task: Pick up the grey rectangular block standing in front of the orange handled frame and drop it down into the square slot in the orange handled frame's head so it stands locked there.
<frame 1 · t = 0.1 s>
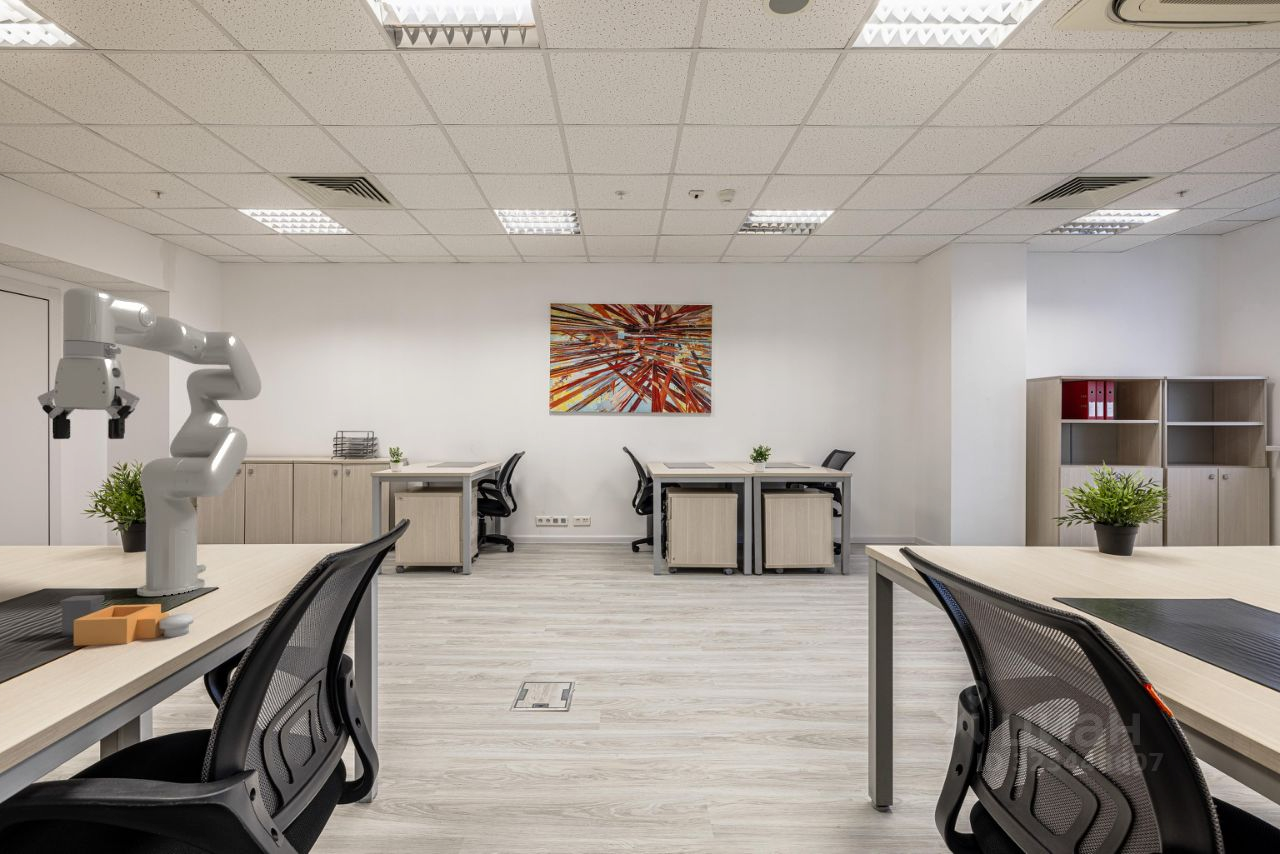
hand: (89, 438, 115), 36 cm above the table, tool pointing down, fingers open, 9 cm apart
orange handled frame: (148, 634, 108), on the table
grey rectangular block: (82, 632, 109), on the table
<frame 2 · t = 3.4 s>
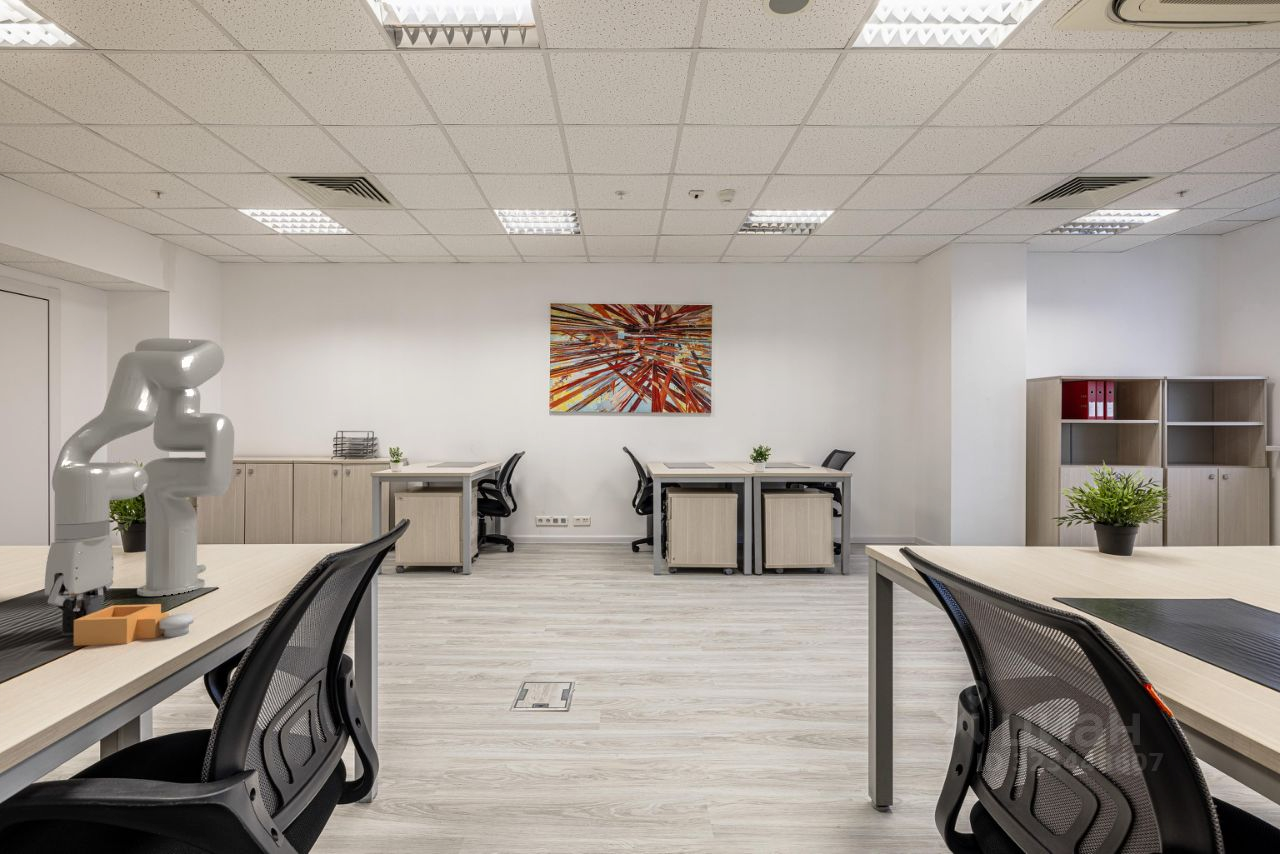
hand: (82, 627, 109), 1 cm above the table, tool pointing down, fingers closed on grey rectangular block, 3 cm apart
grey rectangular block: (82, 632, 109), on the table, touching gripper
when the fingers open (5 cm above the table, at t = 7.9 s): grey rectangular block drops 4 cm, resting in orange handled frame.
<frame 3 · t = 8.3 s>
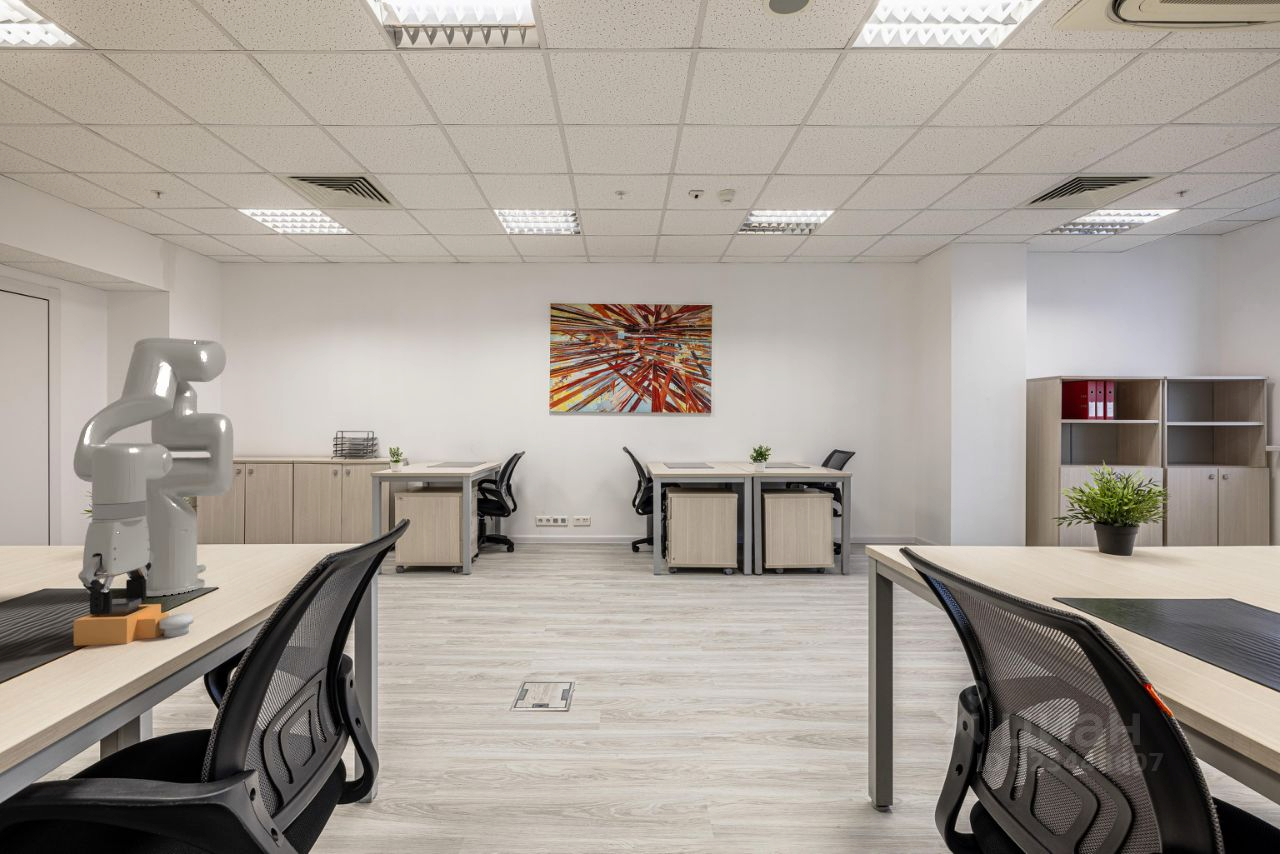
hand: (119, 606, 107), 6 cm above the table, tool pointing down, fingers open, 7 cm apart
grey rectangular block: (119, 636, 107), resting in orange handled frame
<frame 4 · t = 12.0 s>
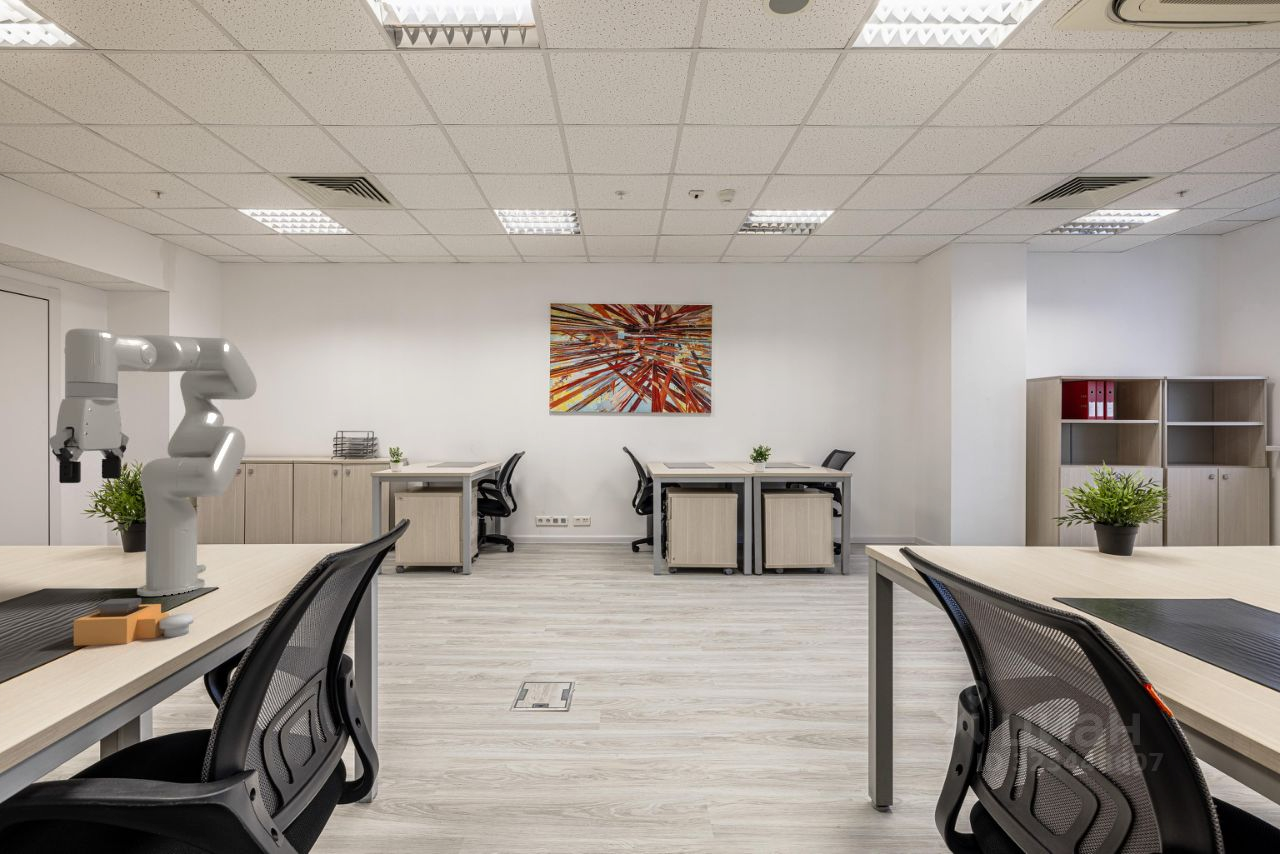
hand: (91, 480, 113), 28 cm above the table, tool pointing down, fingers open, 9 cm apart
nothing on the table moved.
at the end: grey rectangular block 0.1 cm from the target spot on the orange handled frame, point 0.0 cm above the orange handled frame's base; grey rectangular block tilted 0°; the gripper is holding nothing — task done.
